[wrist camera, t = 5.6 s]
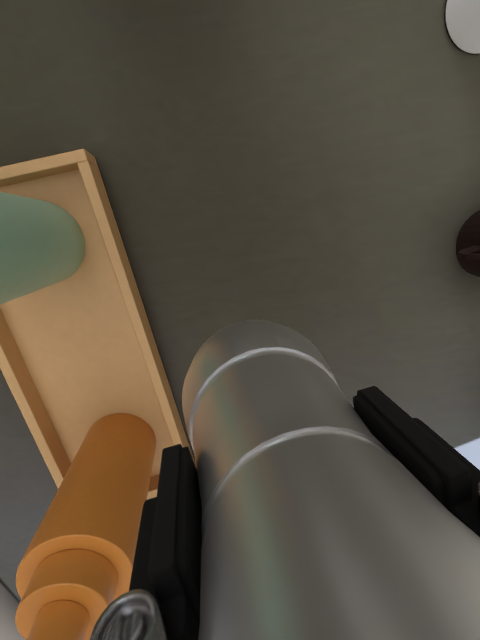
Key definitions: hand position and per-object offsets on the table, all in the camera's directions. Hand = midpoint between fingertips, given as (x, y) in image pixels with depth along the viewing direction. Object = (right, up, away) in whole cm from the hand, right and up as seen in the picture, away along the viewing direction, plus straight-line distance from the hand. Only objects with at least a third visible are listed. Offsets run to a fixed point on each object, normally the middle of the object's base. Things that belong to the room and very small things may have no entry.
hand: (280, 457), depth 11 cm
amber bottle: (-13, -7, +21) cm, 26 cm away
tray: (-15, +2, +19) cm, 24 cm away
